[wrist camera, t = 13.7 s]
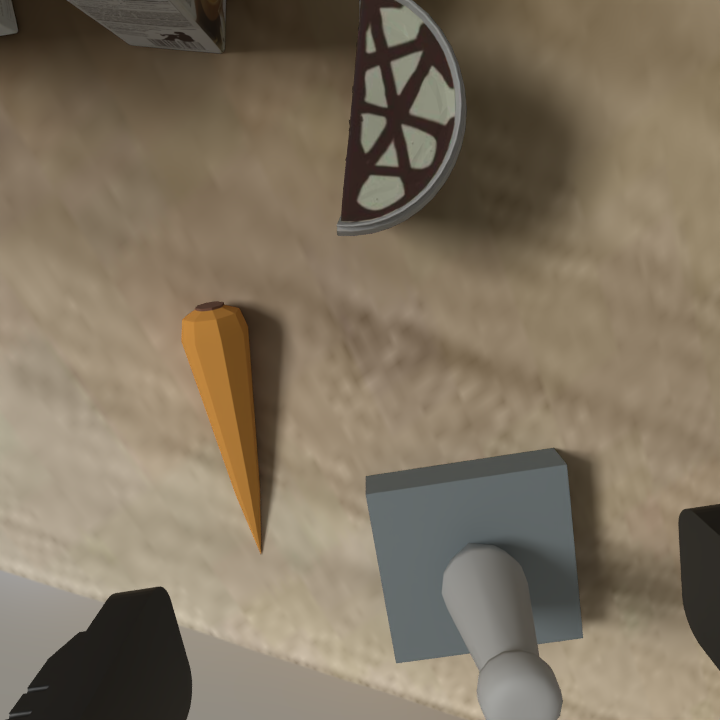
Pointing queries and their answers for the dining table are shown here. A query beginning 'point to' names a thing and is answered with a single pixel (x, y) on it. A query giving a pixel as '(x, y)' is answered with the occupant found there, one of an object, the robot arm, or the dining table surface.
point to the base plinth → (473, 525)
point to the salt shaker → (500, 634)
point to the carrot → (227, 396)
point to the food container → (400, 117)
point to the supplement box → (7, 18)
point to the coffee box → (162, 22)
